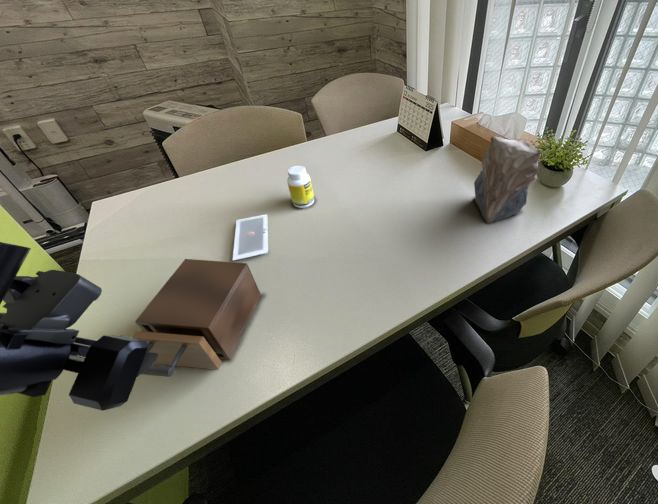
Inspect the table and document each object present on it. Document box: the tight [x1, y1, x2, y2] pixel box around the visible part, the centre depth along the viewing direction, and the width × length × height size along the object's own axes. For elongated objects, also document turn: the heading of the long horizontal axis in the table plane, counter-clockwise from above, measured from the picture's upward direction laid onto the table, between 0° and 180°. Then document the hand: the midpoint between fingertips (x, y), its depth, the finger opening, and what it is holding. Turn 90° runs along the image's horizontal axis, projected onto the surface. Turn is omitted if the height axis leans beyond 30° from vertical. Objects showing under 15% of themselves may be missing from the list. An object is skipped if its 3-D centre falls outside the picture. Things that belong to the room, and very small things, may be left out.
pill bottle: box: [286, 164, 315, 209], centre depth 91 cm, size 6×6×11 cm
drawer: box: [131, 325, 223, 378], centre depth 57 cm, size 17×11×9 cm, turn 175°
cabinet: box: [134, 258, 263, 361], centre depth 61 cm, size 14×13×11 cm
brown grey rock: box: [473, 135, 543, 224], centre depth 86 cm, size 13×13×20 cm
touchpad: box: [232, 213, 269, 261], centre depth 82 cm, size 8×15×2 cm, turn 18°
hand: (124, 351), depth 42 cm, fingers open, 9 cm apart
